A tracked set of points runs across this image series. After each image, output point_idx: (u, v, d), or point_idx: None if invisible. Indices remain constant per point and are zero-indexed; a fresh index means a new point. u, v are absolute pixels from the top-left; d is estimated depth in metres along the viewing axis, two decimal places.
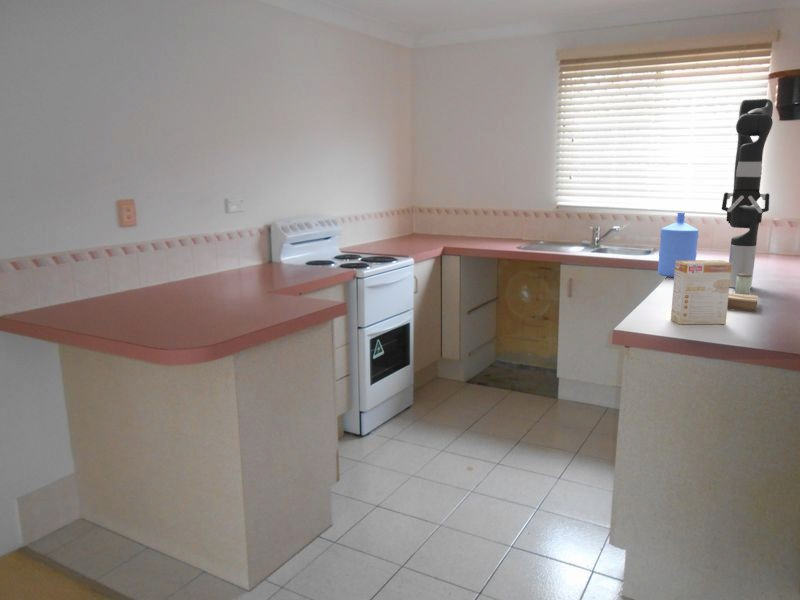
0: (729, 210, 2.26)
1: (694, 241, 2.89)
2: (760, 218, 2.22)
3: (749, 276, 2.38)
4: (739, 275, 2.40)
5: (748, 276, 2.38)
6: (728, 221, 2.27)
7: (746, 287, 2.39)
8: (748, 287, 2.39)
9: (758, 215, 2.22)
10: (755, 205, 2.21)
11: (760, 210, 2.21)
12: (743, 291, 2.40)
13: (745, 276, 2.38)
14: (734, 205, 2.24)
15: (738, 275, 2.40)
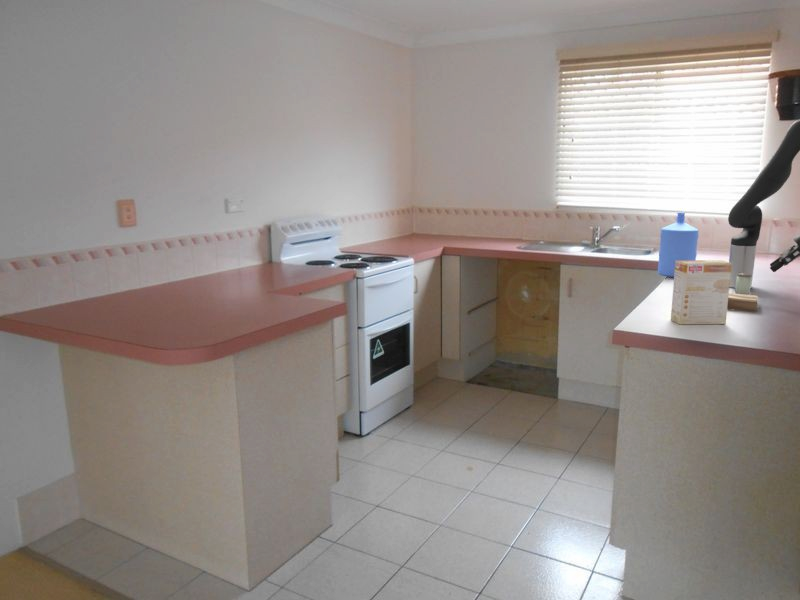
0: None
1: (694, 241, 2.89)
2: None
3: (749, 276, 2.38)
4: (739, 275, 2.40)
5: (748, 276, 2.38)
6: None
7: (746, 287, 2.39)
8: (748, 287, 2.39)
9: None
10: None
11: None
12: (743, 291, 2.40)
13: (745, 276, 2.38)
14: None
15: (738, 275, 2.40)
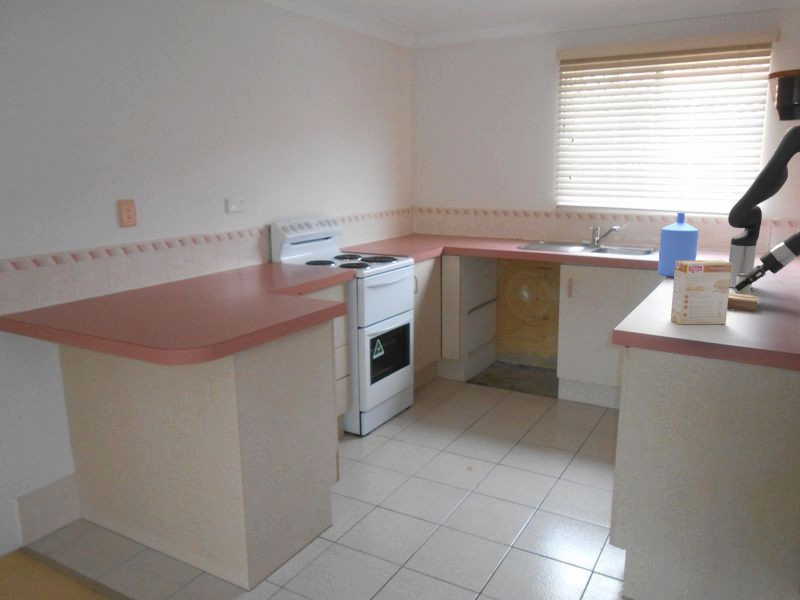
0: None
1: (694, 241, 2.89)
2: None
3: None
4: (739, 275, 2.40)
5: None
6: None
7: (746, 287, 2.39)
8: (748, 287, 2.39)
9: None
10: None
11: None
12: (743, 291, 2.40)
13: (745, 276, 2.38)
14: None
15: (738, 275, 2.40)
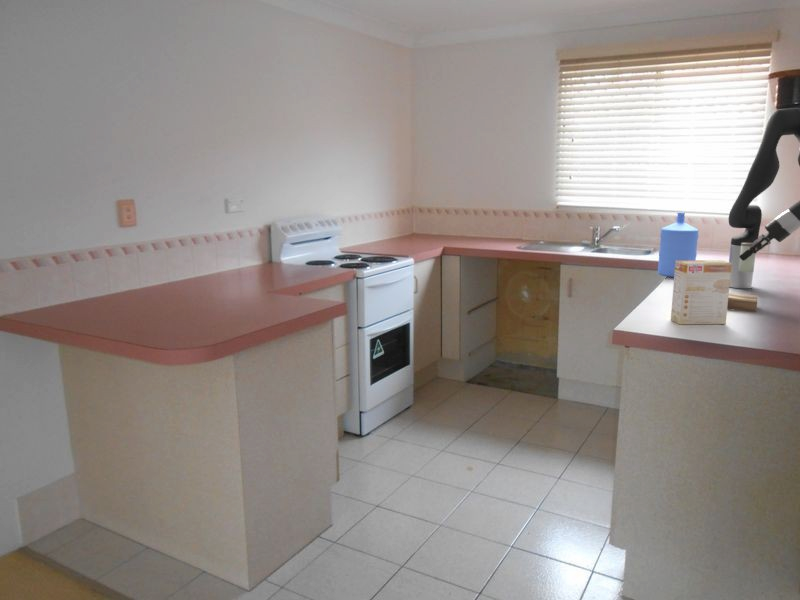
0: None
1: (694, 241, 2.89)
2: None
3: None
4: (743, 244, 2.33)
5: None
6: (743, 259, 2.33)
7: (750, 257, 2.33)
8: (753, 256, 2.33)
9: None
10: None
11: None
12: (748, 261, 2.33)
13: (750, 245, 2.32)
14: None
15: (742, 244, 2.34)
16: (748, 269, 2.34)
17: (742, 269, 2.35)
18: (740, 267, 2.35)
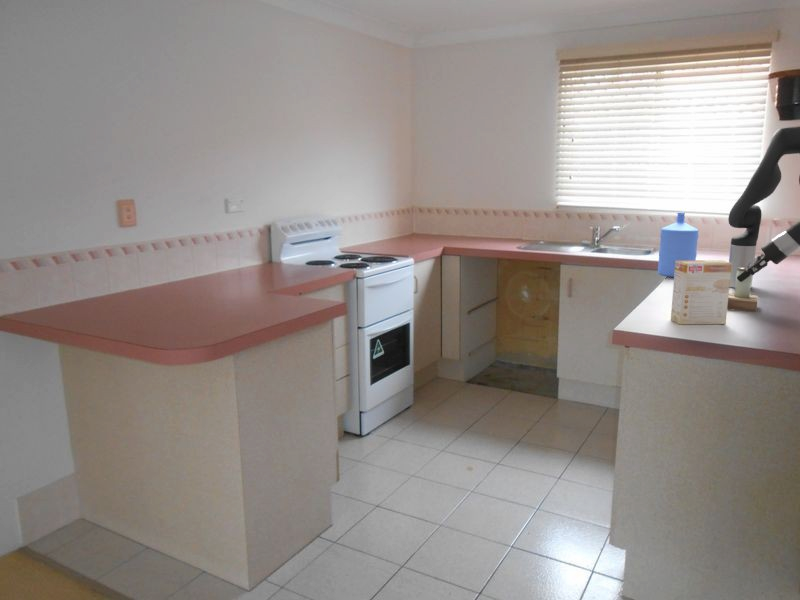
0: None
1: (694, 241, 2.89)
2: None
3: None
4: (739, 269, 2.27)
5: None
6: (741, 280, 2.25)
7: (746, 282, 2.26)
8: (749, 282, 2.26)
9: None
10: None
11: None
12: (743, 286, 2.27)
13: (745, 270, 2.26)
14: (757, 271, 2.23)
15: (738, 269, 2.27)
16: (744, 295, 2.27)
17: (737, 295, 2.28)
18: (736, 292, 2.29)
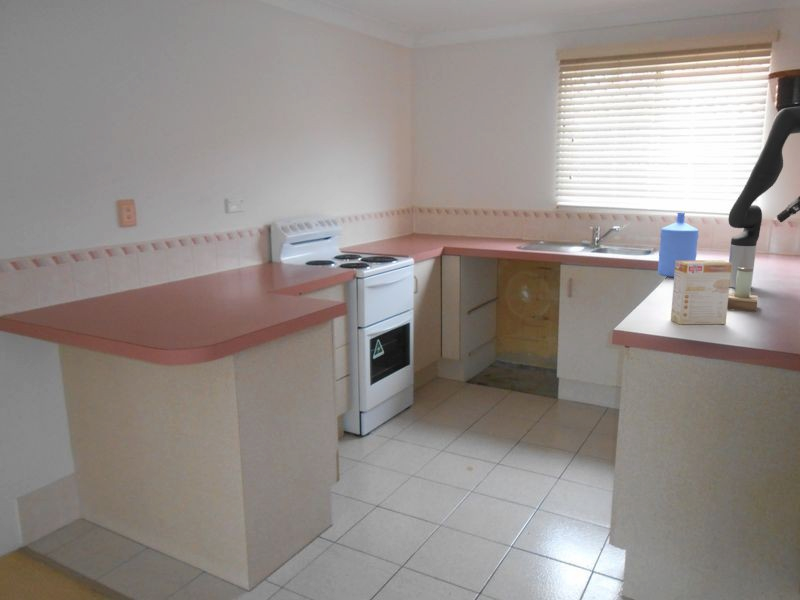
0: None
1: (694, 241, 2.89)
2: None
3: (750, 270, 2.25)
4: (739, 269, 2.27)
5: (749, 270, 2.25)
6: (781, 220, 2.22)
7: (746, 283, 2.26)
8: (749, 282, 2.26)
9: None
10: None
11: None
12: (743, 286, 2.27)
13: (746, 270, 2.25)
14: (798, 211, 2.20)
15: (738, 269, 2.27)
16: (744, 295, 2.27)
17: (737, 295, 2.28)
18: (735, 292, 2.29)
